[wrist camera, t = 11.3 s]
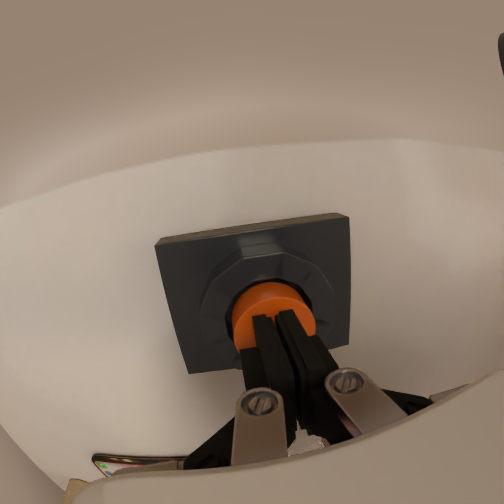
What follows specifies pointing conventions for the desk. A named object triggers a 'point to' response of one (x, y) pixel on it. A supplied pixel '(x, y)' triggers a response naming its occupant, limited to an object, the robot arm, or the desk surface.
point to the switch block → (254, 280)
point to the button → (267, 310)
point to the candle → (72, 490)
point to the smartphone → (124, 462)
